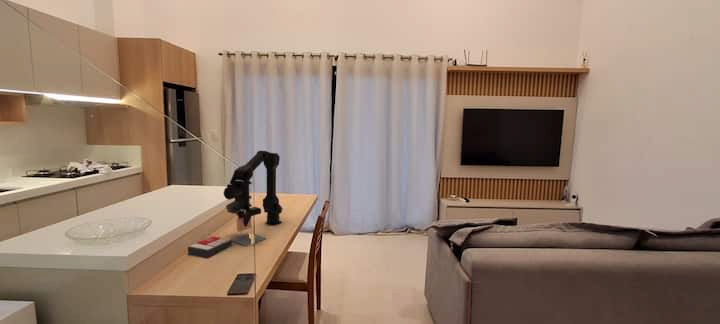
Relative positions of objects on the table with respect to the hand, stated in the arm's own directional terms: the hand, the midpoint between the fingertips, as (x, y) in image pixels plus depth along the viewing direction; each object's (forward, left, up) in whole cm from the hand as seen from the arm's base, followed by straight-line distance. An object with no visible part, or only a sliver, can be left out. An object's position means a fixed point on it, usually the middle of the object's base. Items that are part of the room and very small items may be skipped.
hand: (244, 225), depth 164 cm
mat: (0, +3, -7) cm, 7 cm away
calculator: (+18, -1, -7) cm, 19 cm away
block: (0, 0, -2) cm, 2 cm away
